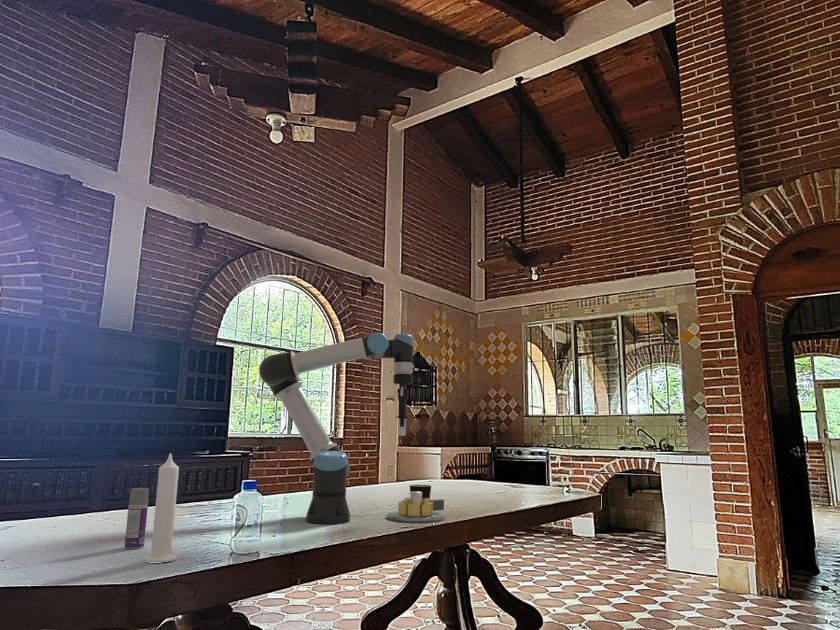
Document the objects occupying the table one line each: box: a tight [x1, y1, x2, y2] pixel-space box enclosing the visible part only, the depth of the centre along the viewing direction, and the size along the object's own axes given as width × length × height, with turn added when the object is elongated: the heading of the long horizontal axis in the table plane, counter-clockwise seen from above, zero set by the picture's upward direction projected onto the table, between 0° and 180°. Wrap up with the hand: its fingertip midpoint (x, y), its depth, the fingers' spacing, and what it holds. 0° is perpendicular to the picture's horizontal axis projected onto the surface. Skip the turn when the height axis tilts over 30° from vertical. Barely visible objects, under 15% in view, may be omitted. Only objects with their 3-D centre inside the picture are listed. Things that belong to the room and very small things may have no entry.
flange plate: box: [386, 491, 446, 524], centre depth 216 cm, size 21×21×9 cm
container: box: [123, 487, 150, 550], centre depth 157 cm, size 5×5×15 cm
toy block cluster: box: [397, 497, 445, 517], centre depth 218 cm, size 19×12×5 cm, turn 129°
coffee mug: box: [409, 484, 432, 500], centre depth 234 cm, size 12×9×10 cm
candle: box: [143, 453, 180, 562], centre depth 144 cm, size 7×7×25 cm
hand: (402, 435), depth 226 cm, fingers closed
